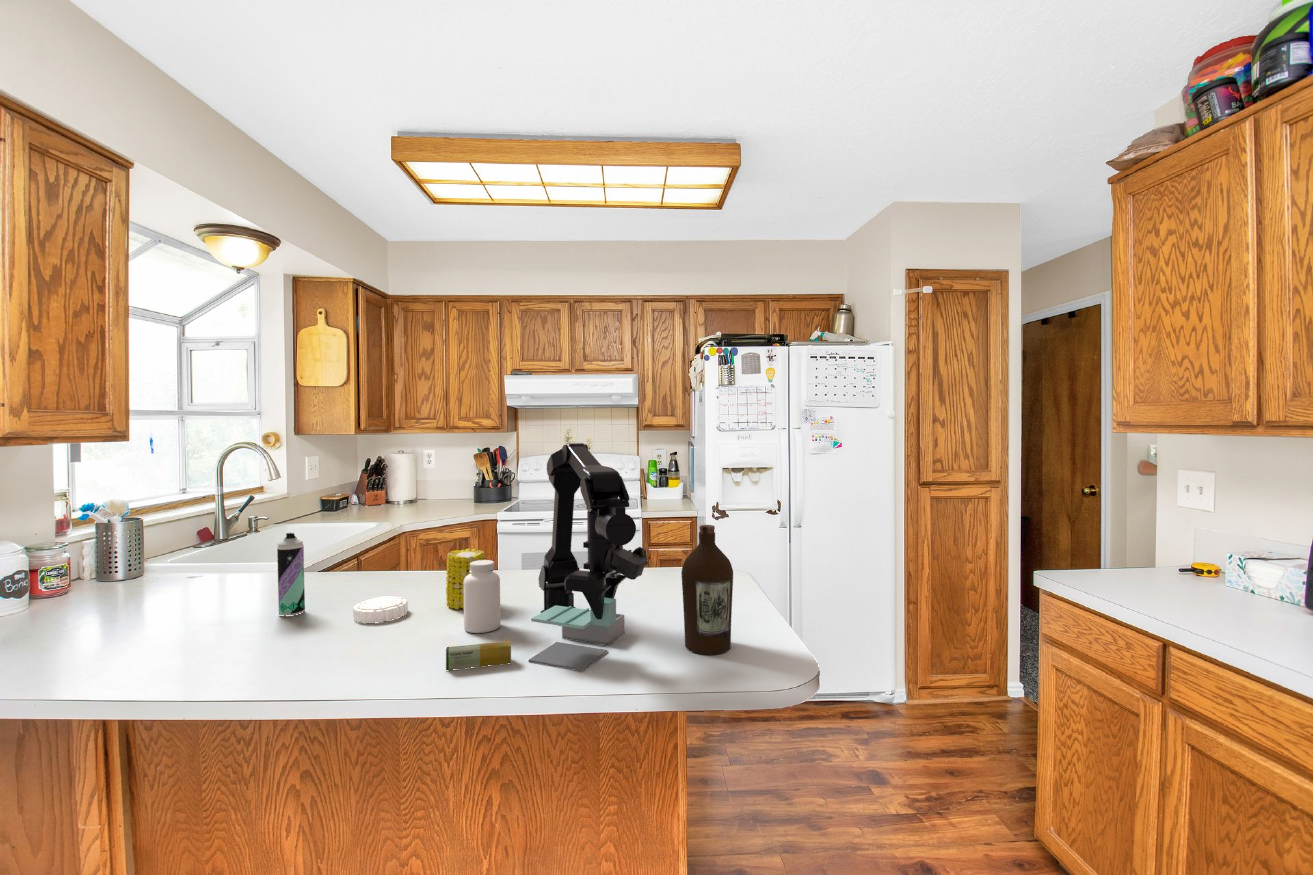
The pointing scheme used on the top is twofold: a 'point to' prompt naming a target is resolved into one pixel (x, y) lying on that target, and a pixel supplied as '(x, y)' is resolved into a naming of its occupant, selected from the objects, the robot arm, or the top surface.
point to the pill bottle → (481, 598)
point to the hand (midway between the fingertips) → (603, 616)
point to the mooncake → (380, 609)
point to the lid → (578, 616)
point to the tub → (596, 632)
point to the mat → (568, 656)
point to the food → (459, 574)
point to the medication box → (478, 655)
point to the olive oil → (707, 596)
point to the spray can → (291, 575)
